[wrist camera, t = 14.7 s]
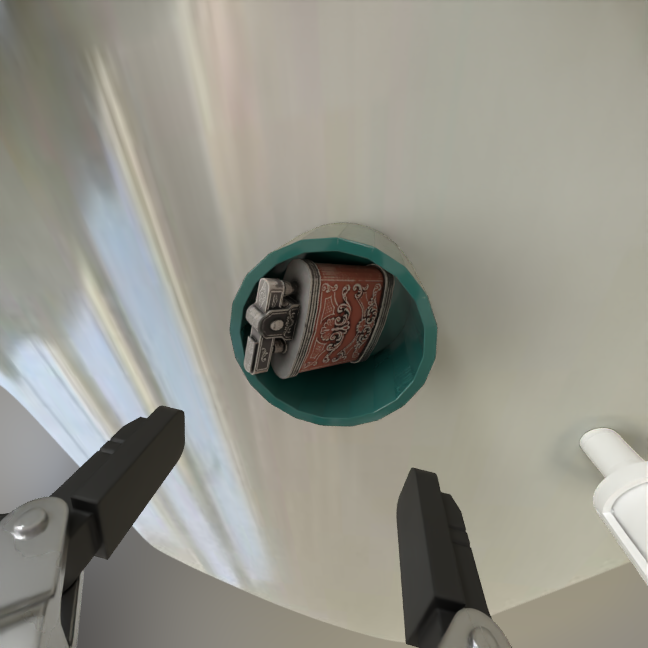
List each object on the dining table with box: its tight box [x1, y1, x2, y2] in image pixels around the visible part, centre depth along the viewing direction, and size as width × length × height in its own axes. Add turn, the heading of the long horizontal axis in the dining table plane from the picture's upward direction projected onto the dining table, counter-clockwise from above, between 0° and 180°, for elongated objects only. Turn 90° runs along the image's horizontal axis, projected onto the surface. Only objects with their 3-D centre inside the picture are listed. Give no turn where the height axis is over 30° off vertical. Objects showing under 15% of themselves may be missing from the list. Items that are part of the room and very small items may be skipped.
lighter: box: [244, 259, 394, 379], centre depth 21 cm, size 8×3×10 cm
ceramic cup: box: [230, 223, 437, 426], centre depth 22 cm, size 12×12×8 cm
